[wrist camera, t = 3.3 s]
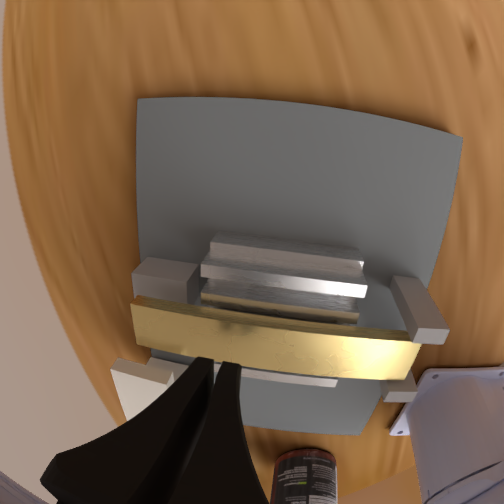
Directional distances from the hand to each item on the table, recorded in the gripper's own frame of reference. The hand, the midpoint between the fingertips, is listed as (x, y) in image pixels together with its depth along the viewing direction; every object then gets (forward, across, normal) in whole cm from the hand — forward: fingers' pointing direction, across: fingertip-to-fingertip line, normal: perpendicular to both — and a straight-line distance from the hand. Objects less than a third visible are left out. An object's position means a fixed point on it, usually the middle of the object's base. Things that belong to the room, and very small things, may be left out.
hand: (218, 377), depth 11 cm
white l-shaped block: (+6, +4, +6) cm, 10 cm away
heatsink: (+6, -2, 0) cm, 6 cm away
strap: (+3, -2, 0) cm, 3 cm away
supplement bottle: (+8, -7, +19) cm, 22 cm away
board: (+7, -2, +1) cm, 8 cm away
